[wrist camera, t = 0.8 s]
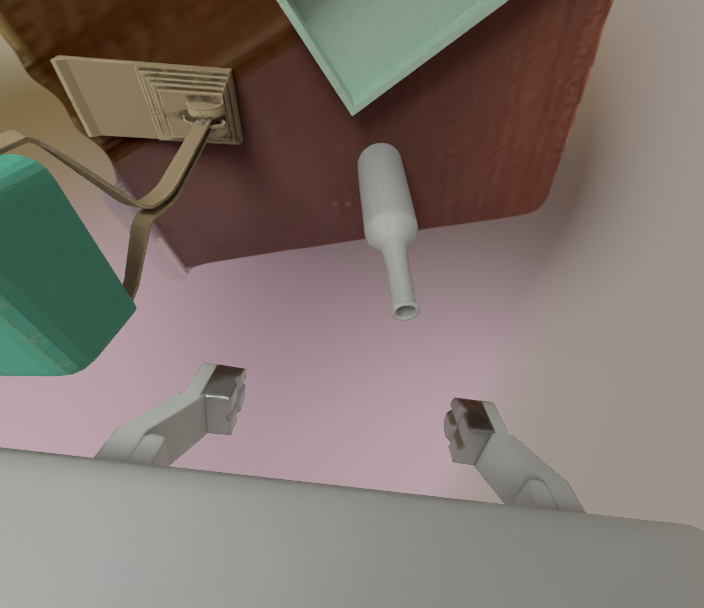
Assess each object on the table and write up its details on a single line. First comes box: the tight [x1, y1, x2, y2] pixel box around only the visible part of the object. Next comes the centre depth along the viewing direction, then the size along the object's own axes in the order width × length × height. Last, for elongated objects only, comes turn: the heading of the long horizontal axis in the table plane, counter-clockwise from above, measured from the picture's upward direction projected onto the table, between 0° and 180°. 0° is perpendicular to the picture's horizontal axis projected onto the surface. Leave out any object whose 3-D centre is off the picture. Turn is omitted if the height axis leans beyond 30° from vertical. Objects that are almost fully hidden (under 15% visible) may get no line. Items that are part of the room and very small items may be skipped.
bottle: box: [358, 143, 420, 320], centre depth 42 cm, size 7×7×28 cm
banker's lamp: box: [0, 55, 243, 376], centre depth 32 cm, size 16×21×35 cm
